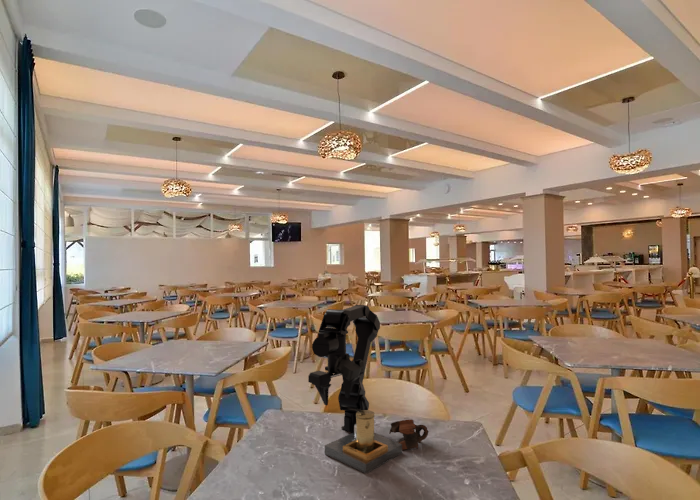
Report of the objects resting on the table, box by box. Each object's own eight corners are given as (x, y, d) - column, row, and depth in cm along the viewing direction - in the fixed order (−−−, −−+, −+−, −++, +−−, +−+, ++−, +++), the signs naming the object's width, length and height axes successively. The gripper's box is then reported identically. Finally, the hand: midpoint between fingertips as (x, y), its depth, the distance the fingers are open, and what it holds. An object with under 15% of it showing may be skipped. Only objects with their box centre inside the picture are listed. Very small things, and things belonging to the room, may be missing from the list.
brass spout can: (355, 456, 117) (354, 410, 118) (372, 454, 118) (372, 409, 118) (359, 469, 110) (358, 420, 110) (378, 467, 111) (377, 419, 111)
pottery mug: (390, 452, 121) (385, 422, 125) (396, 453, 129) (391, 425, 133) (430, 444, 119) (423, 415, 123) (433, 446, 127) (427, 418, 131)
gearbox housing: (361, 436, 130) (361, 419, 130) (402, 452, 119) (401, 433, 119) (324, 454, 119) (324, 434, 119) (365, 473, 108) (365, 452, 108)
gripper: (333, 359, 114) (333, 416, 113) (376, 349, 127) (376, 399, 127) (307, 353, 121) (307, 406, 121) (350, 344, 135) (350, 392, 134)
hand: (337, 401), depth 125 cm, fingers open, 9 cm apart
